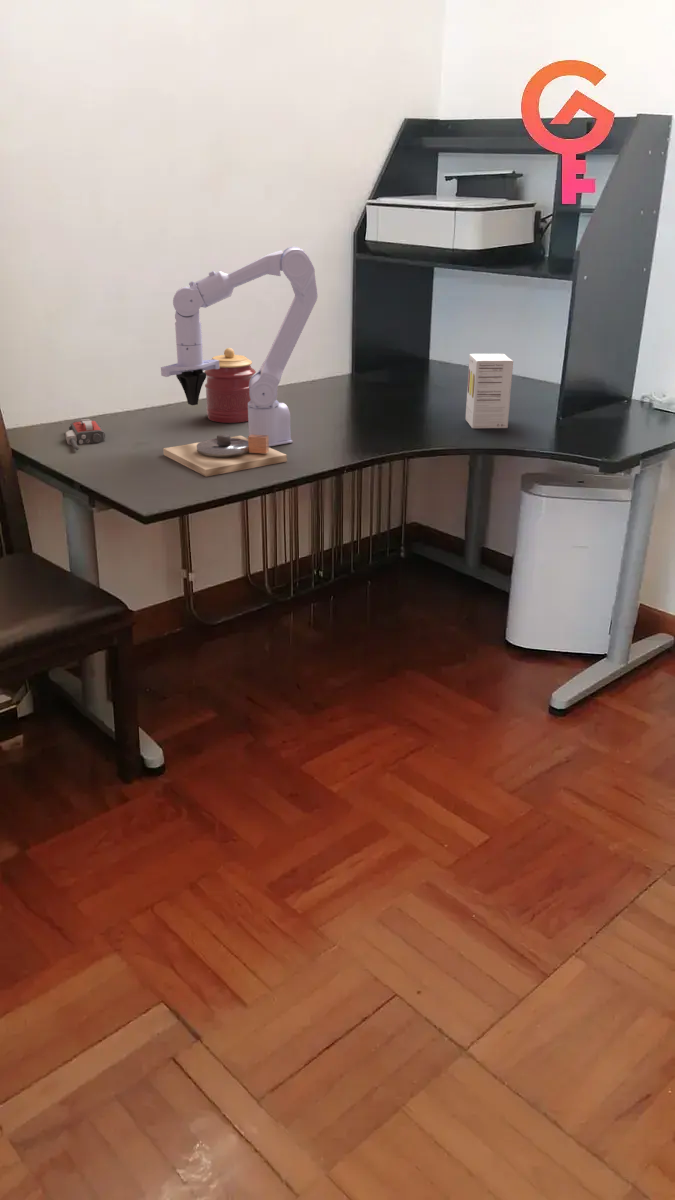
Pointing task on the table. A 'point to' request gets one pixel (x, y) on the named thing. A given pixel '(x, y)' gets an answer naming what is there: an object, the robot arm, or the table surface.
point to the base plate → (221, 458)
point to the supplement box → (488, 390)
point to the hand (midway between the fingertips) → (192, 404)
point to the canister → (229, 388)
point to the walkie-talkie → (84, 433)
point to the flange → (234, 446)
